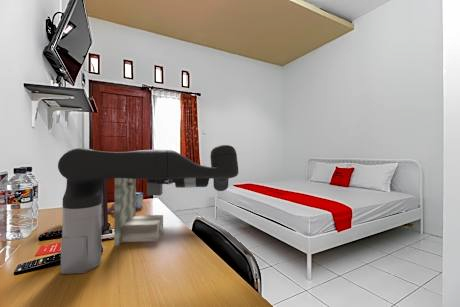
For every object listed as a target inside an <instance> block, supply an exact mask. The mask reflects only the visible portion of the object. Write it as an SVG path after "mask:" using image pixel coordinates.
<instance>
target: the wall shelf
mask: <svg viewBox="0 0 460 307" xmlns="http://www.w3.org/2000/svg"><path fill="white" fill-rule="evenodd" d="M136 193H137V179H129V178H114V203H115V217H114V223H113V224H114V235H113V238H114V239H113V240H114V241H113V242H114V243H113V244H114V245H113V246H114V247H115V246H116V247H117V246H120V245H121V244H122V243H136V242H137V243H139V242H158V239H159V237H160V235H161V234H162V232H163V231H164V215H163V214H158V215H157V214H154V215H152V214H150V215H149V214H148V215H147V214H146V215H144V214H143V215H136V214H137V213H136V211H137V209H136Z"/></svg>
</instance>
